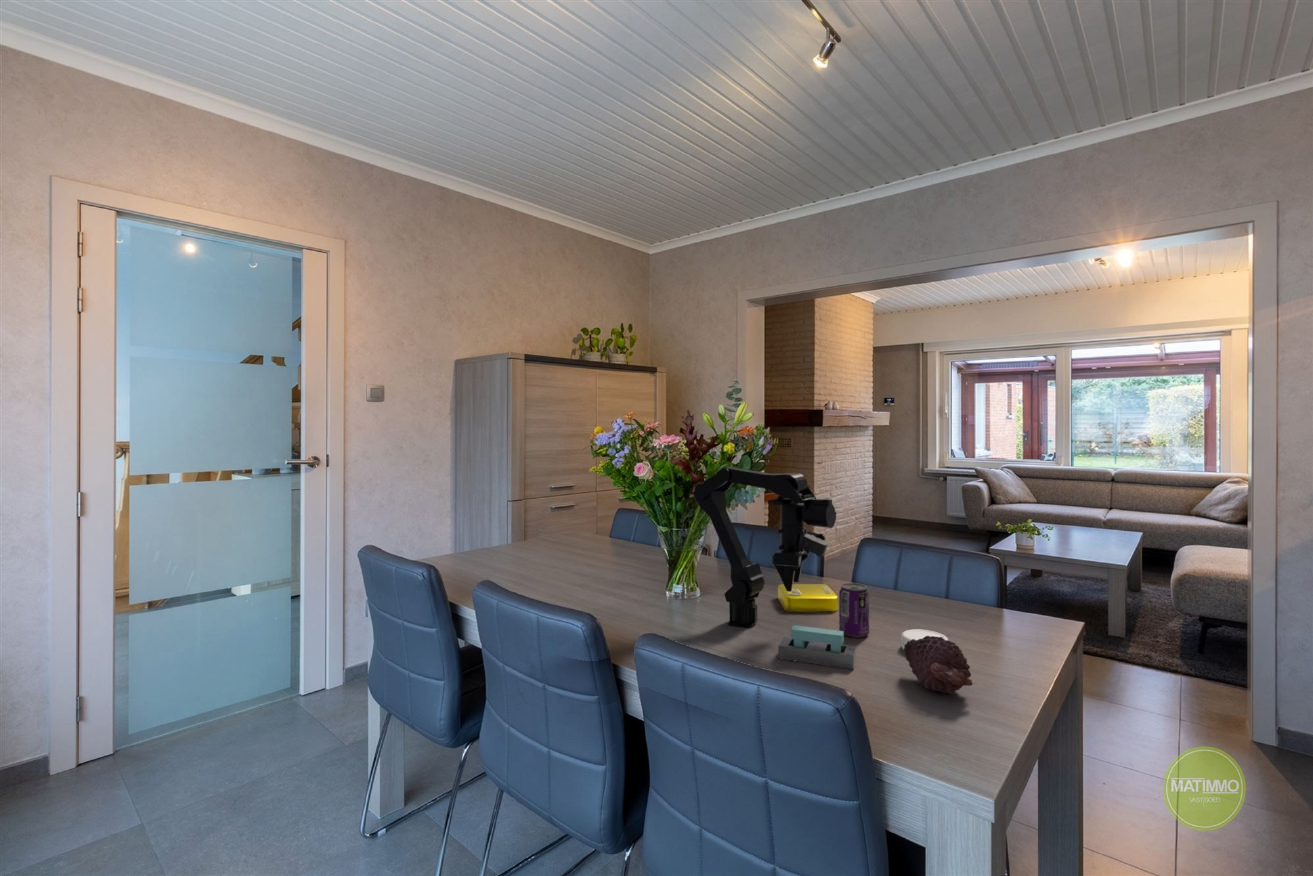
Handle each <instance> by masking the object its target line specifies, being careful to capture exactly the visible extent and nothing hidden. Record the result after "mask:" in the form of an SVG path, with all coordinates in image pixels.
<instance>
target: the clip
mask: <svg viewBox="0 0 1313 876" xmlns="http://www.w3.org/2000/svg"><path fill="white" fill-rule="evenodd" d="M844 636H845V634H844V631H840V630H836V629H829V628H819V627H811V626H802V625H796V624H795V625H793V626H792V627H791V629H790V638H793V639H794V646H795V647H802V648H804V640H808V641H816V642H824V643H831V651H832V652H839V653H841V645H842V644H843V645H844V641H845V637H844Z"/></svg>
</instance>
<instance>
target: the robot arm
mask: <svg viewBox="0 0 1313 876" xmlns="http://www.w3.org/2000/svg"><path fill="white" fill-rule="evenodd" d="M733 484H736V485H737V484H738V485H744V486H749V487H753V488H759V489H760V488H761V489H765V490H768V491H770V492H771V493H773V494H775V495H778V496H777V498H776V499H774V501H772V503H771V504H772V505H773V506H780V527H779V528H778V534H780V544H779V545H778V550H777V551H776V552H775V553H774V554H773V555H772V560H771V561H772V565H773V566H774V567H775V569H776V571H777V573H778V575H779V578H780V579H781V581H782V584H784V586H785V588H786V590H787V591H789V592H791V591H792V586H793V584H794V583H799V581H800V576H801V572H802V568H803V563H804V561H805V560H806V559H807V558H808V557H809V556H810V553H812V554H814V555H816V556H817V557H821V558H823V557H824V555H825V554H826V551H827V548H828V546H829V541H828V540H826V535H825V534H824V533H821V532H819V533H817V534H816V535H815V536H814V535H813V534H809V533H808V528H807V527H805V524H806V525H807V526H809V527H816V528H817V527H819V528H825V529H832V528H834V526H835V523H836V520H837V512H836V508H835V506H834V505H833V499H831V498H823V499H822V498H821V499H820V498H817V497H816V496H815V494H814V492H813V490H812V489H811V488H810V487H809V485H808V481H807V478H806V477H805V475H804V474H802V473H800V472H790V473H789V472H784V473H770V472H769V473H768V472H762V471H756V470H751V469H746V468H740V467H736V466H726V467H725V466H724V467H722V468H721V469H719V470H718V471H717V472H716V473H715V474H713V475H711V477H709V478H707V479H706V480H705V481H704V482H701V483H698V484H697V485H696V486H695V488H694V491H693V498H694V501H695V502H696V504H697V505H698V507H699V508H700V509H701V510H702V511H703V512H704V513H705V514H706V515H707V516H708V517H709V518H710V521H711V523H712V526H713V528H714V530H715V532H716V535H717V537H718V540H719V542H720V544H721V547H722V549H723V551H724V554H725V557H726V558H727V560H728V564H729V565H730V577H729V578H730V581H731V584H732V586H731V587H730V588H729V589H728V590H726V591H725V592H724V597H725V600H726V603H729V606H728V607H729V620H728V621H727V625H729V626H736V627H743V628H744V627H745V628H753V626H754V625H755V623H756V622H758V605H757V604H756V599H757V598H759V595H760V592H761V591H762V590H763V589H764V586H765V579H764V578H765V577H766V576H765V574H764V573H763V572H762V569H761V566H760V564H759V563H758V562H754V563H753V562H752V561H751V560H750V559H749V558H748V557H747V555H746V552H745V550H744V548H743V545H742V542H741V541H740V538H739V536H738V534H737V532H736V530H735V528H734V525H733V523H732V519H731V518H730V516H729V514H728V511H727V495H726V493H727V491H728V490H730V489H731V488H732V486H733Z"/></svg>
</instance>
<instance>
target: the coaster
mask: <svg viewBox="0 0 1313 876" xmlns="http://www.w3.org/2000/svg"><path fill="white" fill-rule="evenodd" d="M926 636H930V637H931V636H934V637H942V638H943V639H945V640H948V641H950V640H949V638H948V637H947V636H945V634H943V633H940V632H937V631H933V630H929V629H928V630H927V629H920V628H919V629H917V628H916V629H907V630H905V631H903V632H902V633H901V635H900V637H901V641H900V642H901V644H900V645H901V648H902V650H903V651H904V648H905V647H904V645H905V644H907V642H908V641H911V640H912V639H915V640H918V639H923V638H924V637H926Z"/></svg>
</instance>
